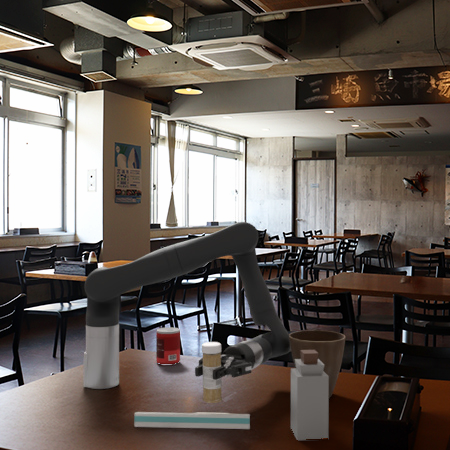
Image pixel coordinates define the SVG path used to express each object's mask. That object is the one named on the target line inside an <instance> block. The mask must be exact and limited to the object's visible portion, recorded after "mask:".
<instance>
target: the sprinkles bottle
mask: <svg viewBox="0 0 450 450" xmlns="http://www.w3.org/2000/svg"><path fill="white" fill-rule="evenodd" d="M201 353H202V358H203V375H202V387H203V388H202V392H203V393H202V394H203V397H202V401H203V402H205V403H208V404H216V403H220V402H221V401H222V399H223V397H222V381H223V380H222V377H221V378H219V379H217V380H214V379H213V370H215V369H217V368H219V367H221V355H222V344H221V343H220V342H218V341H206V342H203V343H202V344H201Z"/></svg>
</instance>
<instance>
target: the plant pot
mask: <svg viewBox="0 0 450 450" xmlns="http://www.w3.org/2000/svg"><path fill="white" fill-rule="evenodd" d="M288 334H289V339H290V346H291V350H290V353H291V357H292V360H293V365H294V368H296V364H295V360H294V359H301V353H300V350H315V351H316V352H318V359H319V360H320V361H321V362H322V363H323V364H324V369H323V371H324V372H325V373H326V374H327V375H328V376H329V396H328V399H330V398H331V397H332V395H333V393H334V390H335V388H336V385H337V383H338V382H337V381H338V378H339V374H340V370H341V367H342V362H343V356H344V351H345V346H346V345H345V343H346V335H345V334H343V333H340V332H336V331H330V330H317V329H309V330H299V331H294V332H291V333H288Z"/></svg>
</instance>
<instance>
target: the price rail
mask: <svg viewBox="0 0 450 450" xmlns="http://www.w3.org/2000/svg"><path fill="white" fill-rule="evenodd" d="M250 416H251V414H250V413H230V412H200V411H199V412H161V411H160V412H159V411H158V412H156V411H153V412H152V411H150V412H149V411H135V412H134V421H133V422H134V427H135V428H137V427H138V428H172V429H173V428H179V429H182V428H183V429H184V428H185V429H188V428H189V429H228V430H229V429H232V430H233V429H237V430H250V429H251V425H250V423H251V422H250V421H251V420H250V419H251V418H250Z"/></svg>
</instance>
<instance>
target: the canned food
mask: <svg viewBox="0 0 450 450" xmlns="http://www.w3.org/2000/svg"><path fill="white" fill-rule="evenodd" d="M155 336H156V337H155V338H156V339H155V340H156V341H155V343H156V348H155V350H156V351H155V352H156V355H155V356H156V360H155V361H156V364H157V363H160V364H175V363H178V362H179V361H181V329H180V328H178V327H172V326H171V327H169V326H168V327H160V328H157V329H156V333H155ZM179 363H180V362H179ZM179 363H178V364H179Z"/></svg>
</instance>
